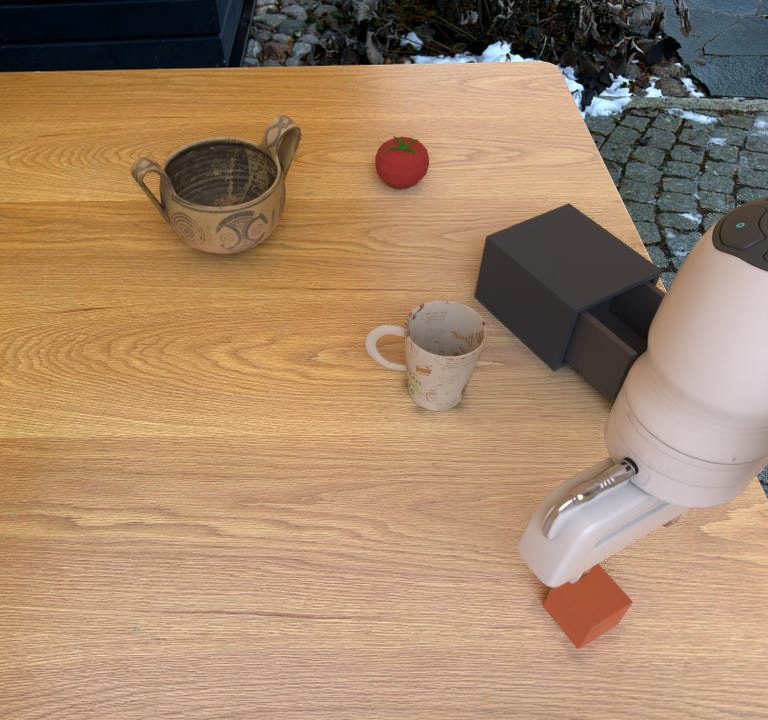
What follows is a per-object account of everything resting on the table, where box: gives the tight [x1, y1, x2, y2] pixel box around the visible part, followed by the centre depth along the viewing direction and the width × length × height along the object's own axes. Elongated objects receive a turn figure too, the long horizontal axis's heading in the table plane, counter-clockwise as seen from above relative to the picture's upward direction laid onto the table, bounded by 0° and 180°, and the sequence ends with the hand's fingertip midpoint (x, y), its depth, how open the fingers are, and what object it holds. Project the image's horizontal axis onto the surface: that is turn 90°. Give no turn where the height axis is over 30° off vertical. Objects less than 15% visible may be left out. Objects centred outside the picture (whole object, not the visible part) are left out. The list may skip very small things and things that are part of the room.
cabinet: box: [473, 203, 663, 372], centre depth 88 cm, size 15×13×10 cm
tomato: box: [374, 135, 430, 189], centre depth 109 cm, size 8×8×8 cm
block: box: [542, 563, 634, 650], centre depth 64 cm, size 4×4×4 cm
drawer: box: [563, 281, 666, 402], centre depth 80 cm, size 18×11×8 cm, turn 28°
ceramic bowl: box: [130, 113, 302, 255], centre depth 98 cm, size 22×17×15 cm
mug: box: [364, 299, 488, 412], centre depth 80 cm, size 8×13×10 cm, turn 71°
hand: (618, 543), depth 56 cm, fingers open, 8 cm apart
